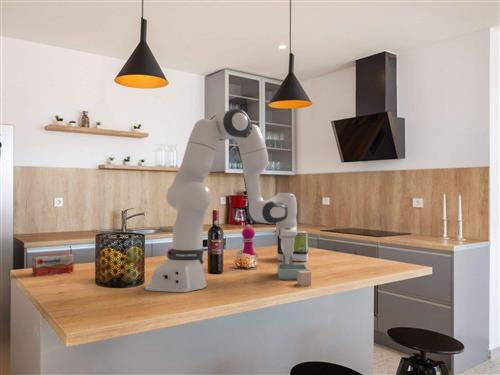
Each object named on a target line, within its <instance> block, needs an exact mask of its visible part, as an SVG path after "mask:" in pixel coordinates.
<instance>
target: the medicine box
mask: <svg viewBox="0 0 500 375" xmlns="http://www.w3.org/2000/svg"><path fill="white" fill-rule="evenodd" d="M74 261H75V260H74V255H73V254H72V253H70V252H60V253H49V254H48V253H47V254H35V255H33V256H32V261H31V262H32V265H31V268H32V270H31V271H32V274H33V275H34V277H37V276H38V277H47V275H48V276H55V274H58V275H64V274H63V273H67V274H72V273H71V272H73V273H74V268H75V267H74Z"/></svg>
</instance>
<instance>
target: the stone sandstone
mask: <svg viewBox="0 0 500 375" xmlns="http://www.w3.org/2000/svg"><path fill="white" fill-rule="evenodd" d="M296 283H297V285H299V286H300V285H301V286H300V287H306V286H307V287H308V286H312V272H311V271H310V270H309V271H307V270H305V271H297V282H296Z"/></svg>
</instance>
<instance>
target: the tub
mask: <svg viewBox="0 0 500 375" xmlns="http://www.w3.org/2000/svg"><path fill="white" fill-rule="evenodd" d="M305 270H307V271H309V272H310V269H309V267H308V266H307V265H306V264H305V263H292V268H283V267H282V263H277V276H278V280H285V281H286V280H287V281H288V280H290V281H292V280H294V281H295V280H297V271H305Z"/></svg>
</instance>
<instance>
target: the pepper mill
mask: <svg viewBox="0 0 500 375" xmlns="http://www.w3.org/2000/svg"><path fill="white" fill-rule="evenodd" d="M255 234H256V233H255V230H254V229H253V228H252V227H251V225H250V224H247V225H246V227H245V228H244V229H242V232H241V235H242V237H243V238H242V239H243V240H242V242H243V250H242V251H241V253H242V252H243V253H247V254H250V255H256V252H255V250H254V247H253V243H254V237H255Z"/></svg>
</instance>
